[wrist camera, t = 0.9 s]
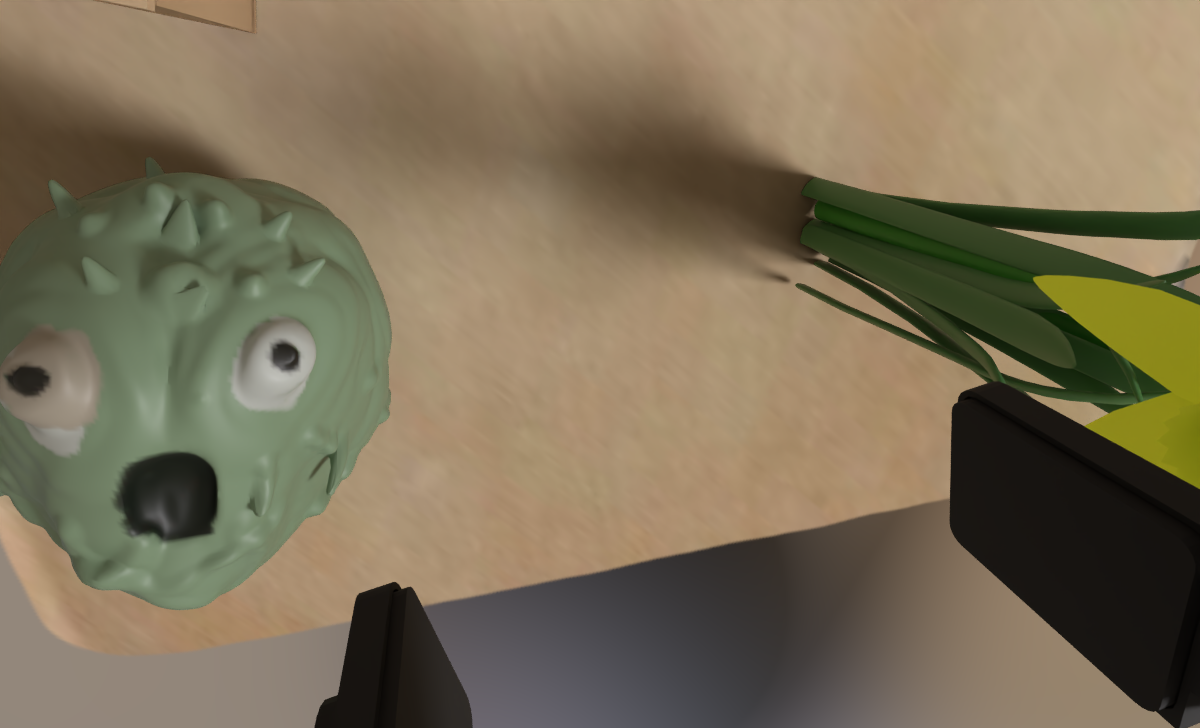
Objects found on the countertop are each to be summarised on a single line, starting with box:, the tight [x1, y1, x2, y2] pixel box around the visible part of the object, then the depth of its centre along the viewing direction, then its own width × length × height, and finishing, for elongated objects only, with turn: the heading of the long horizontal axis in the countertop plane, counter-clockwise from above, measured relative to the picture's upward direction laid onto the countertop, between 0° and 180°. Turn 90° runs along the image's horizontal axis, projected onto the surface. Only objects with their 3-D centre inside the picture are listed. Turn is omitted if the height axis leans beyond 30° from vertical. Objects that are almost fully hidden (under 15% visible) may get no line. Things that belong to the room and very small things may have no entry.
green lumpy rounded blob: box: [0, 157, 392, 610], centre depth 28 cm, size 16×19×20 cm
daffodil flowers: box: [795, 177, 1200, 489], centre depth 27 cm, size 17×15×35 cm
